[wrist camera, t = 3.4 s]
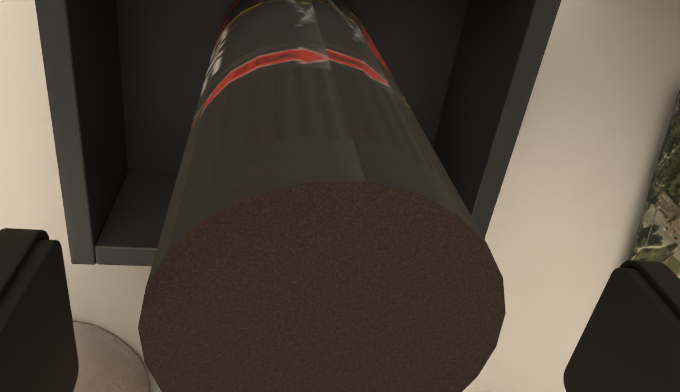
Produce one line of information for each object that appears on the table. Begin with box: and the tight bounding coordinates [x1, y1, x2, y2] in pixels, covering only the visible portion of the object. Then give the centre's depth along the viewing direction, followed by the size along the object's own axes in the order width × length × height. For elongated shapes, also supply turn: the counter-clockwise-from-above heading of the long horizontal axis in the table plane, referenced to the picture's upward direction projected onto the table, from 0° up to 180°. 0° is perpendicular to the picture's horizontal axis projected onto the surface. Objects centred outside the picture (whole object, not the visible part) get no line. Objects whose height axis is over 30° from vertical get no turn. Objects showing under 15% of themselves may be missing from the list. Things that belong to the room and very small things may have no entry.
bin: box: [35, 0, 561, 266], centre depth 20 cm, size 15×13×6 cm
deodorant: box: [138, 0, 505, 392], centre depth 15 cm, size 6×6×15 cm
